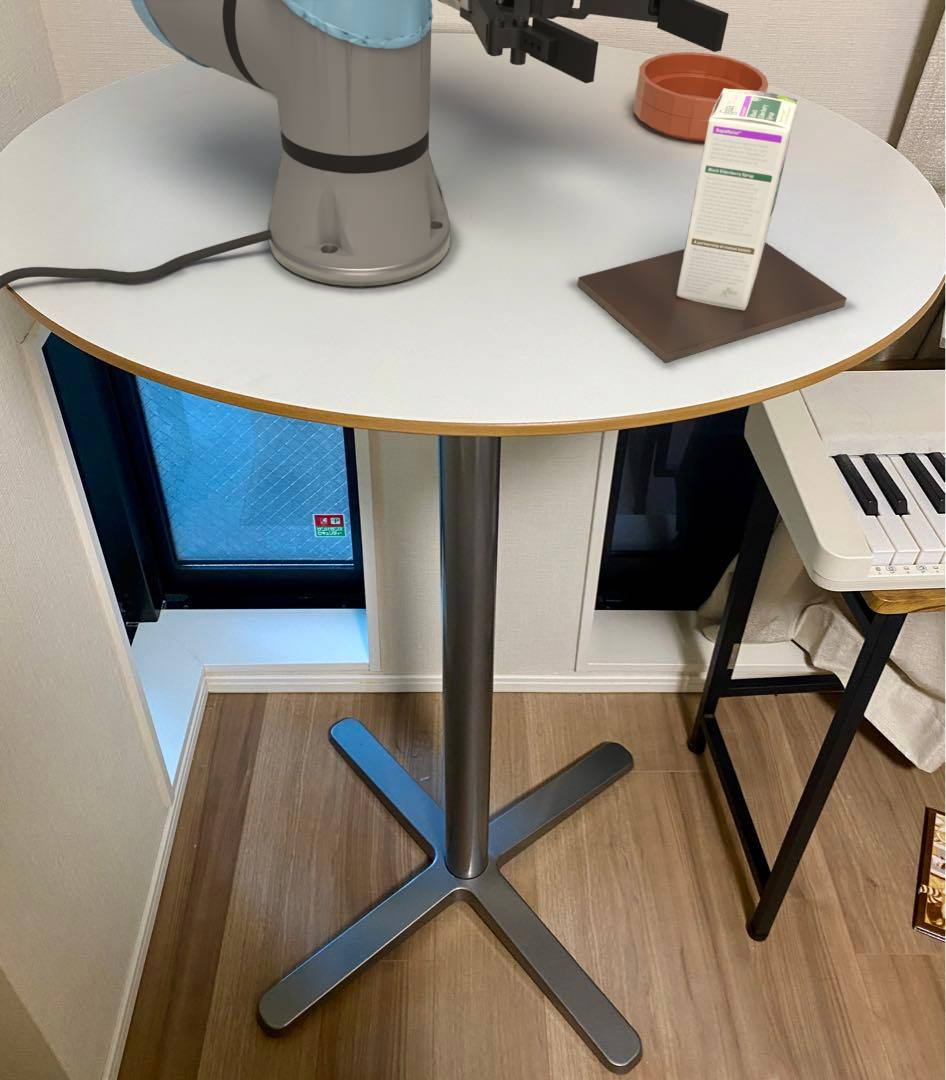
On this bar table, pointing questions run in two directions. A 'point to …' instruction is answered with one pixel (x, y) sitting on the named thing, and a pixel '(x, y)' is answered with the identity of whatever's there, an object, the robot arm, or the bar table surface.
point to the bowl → (689, 90)
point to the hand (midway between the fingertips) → (660, 47)
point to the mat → (691, 326)
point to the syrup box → (735, 196)
